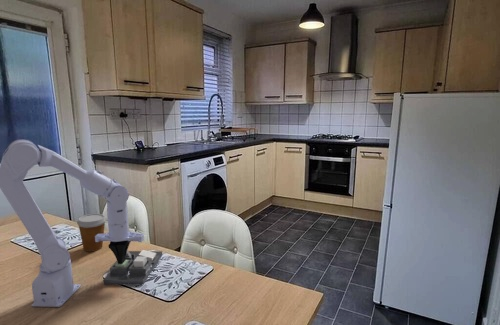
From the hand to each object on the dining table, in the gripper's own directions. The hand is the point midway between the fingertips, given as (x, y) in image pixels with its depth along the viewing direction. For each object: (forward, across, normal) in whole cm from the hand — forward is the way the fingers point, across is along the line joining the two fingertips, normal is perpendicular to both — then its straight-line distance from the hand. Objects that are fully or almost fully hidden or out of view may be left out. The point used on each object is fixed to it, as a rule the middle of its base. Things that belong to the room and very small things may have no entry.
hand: (121, 262), depth 92 cm
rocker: (+1, -6, -6) cm, 9 cm away
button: (+2, 0, 0) cm, 2 cm away
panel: (+4, -3, -3) cm, 6 cm away
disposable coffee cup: (+4, +19, -17) cm, 26 cm away
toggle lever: (+2, 0, -6) cm, 6 cm away
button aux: (+1, -6, 0) cm, 6 cm away
